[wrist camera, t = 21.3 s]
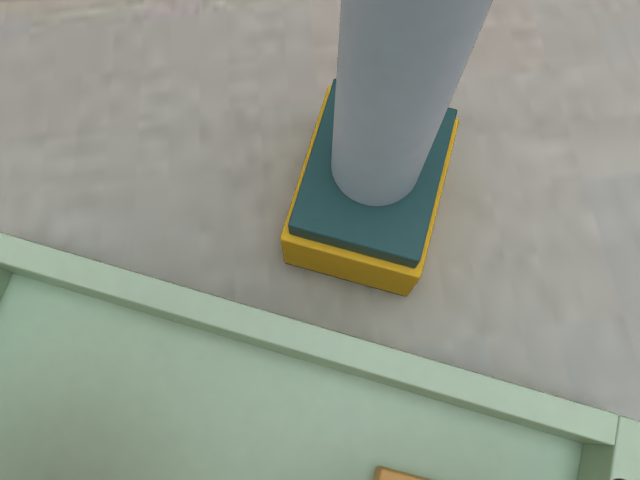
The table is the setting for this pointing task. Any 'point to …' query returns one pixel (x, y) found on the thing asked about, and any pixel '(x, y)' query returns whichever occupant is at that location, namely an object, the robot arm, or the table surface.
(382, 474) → the flat tan block
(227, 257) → the table surface
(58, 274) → the tray
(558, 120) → the table surface
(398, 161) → the rubber stamp
